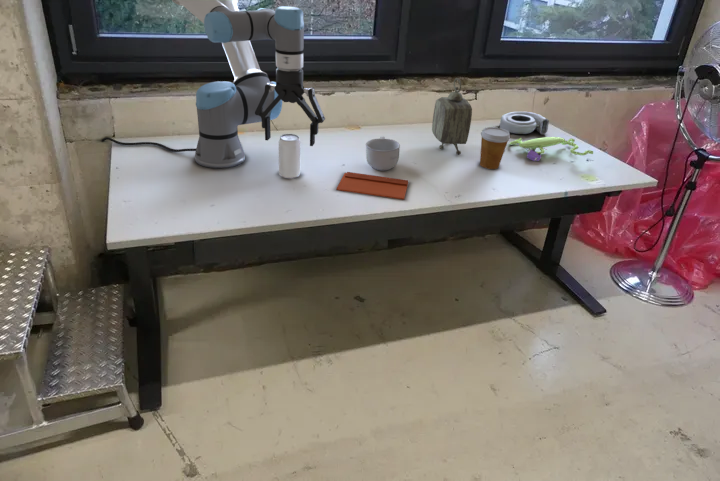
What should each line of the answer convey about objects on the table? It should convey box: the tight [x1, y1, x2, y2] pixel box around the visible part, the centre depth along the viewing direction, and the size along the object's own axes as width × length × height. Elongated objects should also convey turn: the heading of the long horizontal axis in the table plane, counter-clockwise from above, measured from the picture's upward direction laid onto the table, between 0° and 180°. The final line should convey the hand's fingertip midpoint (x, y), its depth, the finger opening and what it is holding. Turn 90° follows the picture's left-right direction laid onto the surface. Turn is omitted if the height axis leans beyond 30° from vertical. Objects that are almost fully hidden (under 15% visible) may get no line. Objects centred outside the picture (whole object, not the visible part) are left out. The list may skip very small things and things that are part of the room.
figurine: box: [508, 136, 594, 162], centre depth 193 cm, size 18×27×6 cm
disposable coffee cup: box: [479, 126, 511, 170], centre depth 178 cm, size 10×10×12 cm
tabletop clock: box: [431, 77, 473, 156], centre depth 185 cm, size 14×9×25 cm, turn 9°
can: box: [278, 133, 302, 179], centre depth 161 cm, size 6×6×12 cm
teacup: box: [365, 136, 401, 171], centre depth 174 cm, size 14×11×8 cm
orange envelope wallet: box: [336, 171, 409, 201], centre depth 161 cm, size 20×12×1 cm, turn 79°
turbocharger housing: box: [499, 110, 550, 135], centre depth 215 cm, size 17×6×15 cm
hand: (290, 141), depth 159 cm, fingers open, 13 cm apart
